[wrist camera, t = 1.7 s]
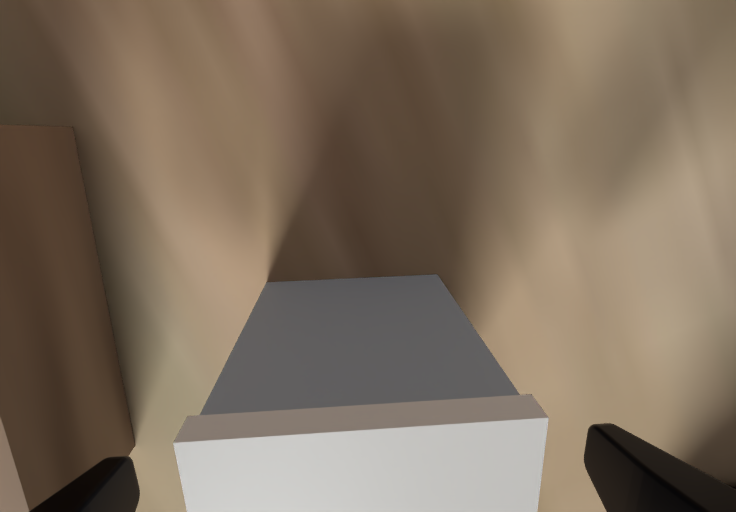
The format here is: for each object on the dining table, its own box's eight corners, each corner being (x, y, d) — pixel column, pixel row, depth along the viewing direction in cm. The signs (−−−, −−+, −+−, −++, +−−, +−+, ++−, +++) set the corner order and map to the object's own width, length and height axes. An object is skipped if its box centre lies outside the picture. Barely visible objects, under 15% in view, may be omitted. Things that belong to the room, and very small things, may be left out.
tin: (440, 270, 11) (549, 418, 5) (436, 417, 12) (518, 661, 7) (262, 278, 11) (173, 442, 5) (278, 428, 12) (223, 691, 6)
